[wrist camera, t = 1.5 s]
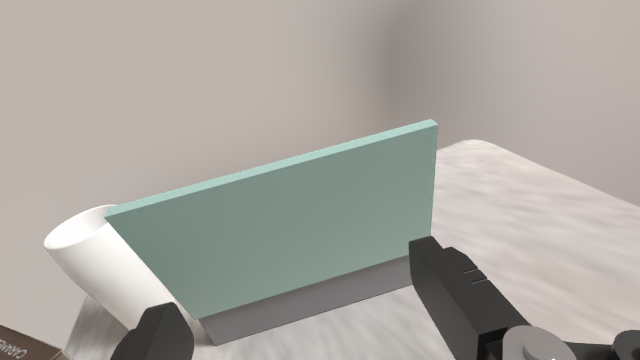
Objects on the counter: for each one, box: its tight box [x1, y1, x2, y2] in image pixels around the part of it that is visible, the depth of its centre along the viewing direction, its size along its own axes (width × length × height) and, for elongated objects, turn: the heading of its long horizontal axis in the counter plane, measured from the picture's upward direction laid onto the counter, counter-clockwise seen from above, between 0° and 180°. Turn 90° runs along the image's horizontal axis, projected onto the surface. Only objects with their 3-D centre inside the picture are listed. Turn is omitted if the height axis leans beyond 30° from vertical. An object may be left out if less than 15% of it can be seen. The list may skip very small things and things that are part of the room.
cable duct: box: [198, 254, 413, 346], centre depth 37 cm, size 24×15×5 cm, turn 101°
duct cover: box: [104, 119, 438, 320], centre depth 25 cm, size 24×14×1 cm
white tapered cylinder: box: [43, 205, 177, 331], centre depth 32 cm, size 7×7×15 cm
